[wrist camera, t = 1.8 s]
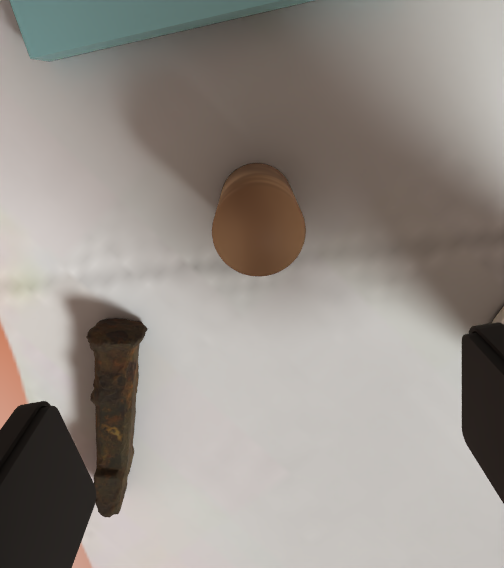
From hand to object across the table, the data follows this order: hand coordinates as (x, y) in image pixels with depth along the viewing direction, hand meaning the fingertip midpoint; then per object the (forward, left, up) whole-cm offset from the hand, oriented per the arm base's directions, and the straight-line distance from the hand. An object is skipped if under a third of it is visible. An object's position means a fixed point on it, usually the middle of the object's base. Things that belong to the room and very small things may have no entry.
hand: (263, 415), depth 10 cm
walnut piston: (0, 0, -22) cm, 22 cm away
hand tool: (+14, +16, -23) cm, 32 cm away
